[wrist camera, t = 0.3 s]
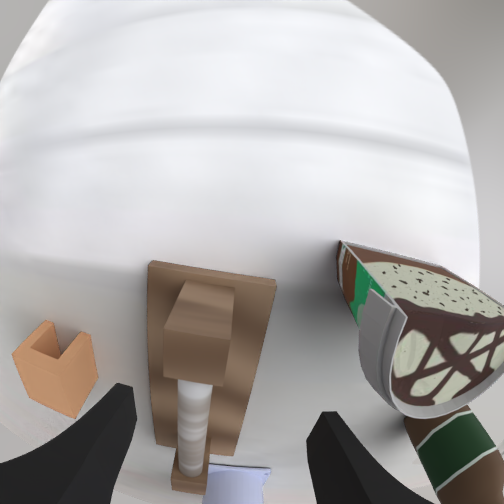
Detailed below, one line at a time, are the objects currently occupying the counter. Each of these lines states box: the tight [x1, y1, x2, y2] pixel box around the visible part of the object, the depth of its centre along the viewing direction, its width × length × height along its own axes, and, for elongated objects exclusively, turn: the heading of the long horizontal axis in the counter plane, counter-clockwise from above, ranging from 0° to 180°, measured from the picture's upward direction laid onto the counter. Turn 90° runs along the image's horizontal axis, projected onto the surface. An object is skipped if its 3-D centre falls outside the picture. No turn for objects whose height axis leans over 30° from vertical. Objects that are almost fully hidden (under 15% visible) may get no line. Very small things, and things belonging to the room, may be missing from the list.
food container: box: [336, 240, 504, 419], centre depth 14 cm, size 12×6×10 cm, turn 78°
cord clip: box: [12, 320, 98, 419], centre depth 17 cm, size 5×5×6 cm
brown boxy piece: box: [147, 260, 277, 495], centre depth 18 cm, size 20×8×6 cm, turn 170°
